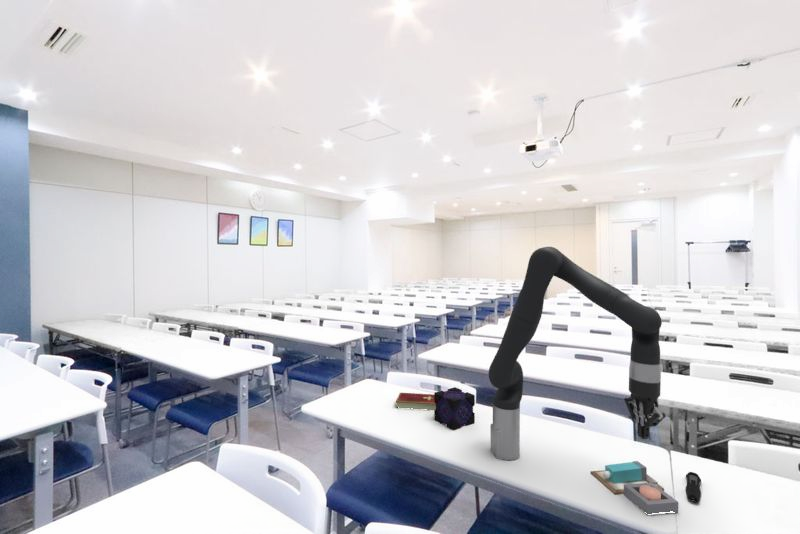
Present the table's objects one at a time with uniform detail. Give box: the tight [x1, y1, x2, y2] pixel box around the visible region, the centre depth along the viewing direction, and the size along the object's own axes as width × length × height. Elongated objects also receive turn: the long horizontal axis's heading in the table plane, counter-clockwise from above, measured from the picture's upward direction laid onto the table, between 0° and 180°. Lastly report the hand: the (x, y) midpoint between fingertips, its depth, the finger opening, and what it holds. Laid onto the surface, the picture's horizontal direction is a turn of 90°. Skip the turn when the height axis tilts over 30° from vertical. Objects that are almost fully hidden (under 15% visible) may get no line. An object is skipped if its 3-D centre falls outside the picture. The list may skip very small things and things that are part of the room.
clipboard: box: [590, 469, 665, 495], centre depth 114 cm, size 16×11×1 cm
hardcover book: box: [395, 392, 436, 411], centre depth 176 cm, size 12×21×4 cm, turn 81°
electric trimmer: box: [685, 471, 702, 503], centre depth 110 cm, size 4×16×3 cm, turn 141°
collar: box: [623, 482, 679, 515], centre depth 104 cm, size 9×9×3 cm
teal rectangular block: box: [603, 460, 648, 483], centre depth 114 cm, size 12×4×4 cm, turn 97°
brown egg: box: [639, 485, 661, 501], centre depth 104 cm, size 5×5×3 cm
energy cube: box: [433, 386, 476, 432], centre depth 157 cm, size 12×12×12 cm
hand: (643, 437), depth 106 cm, fingers closed
